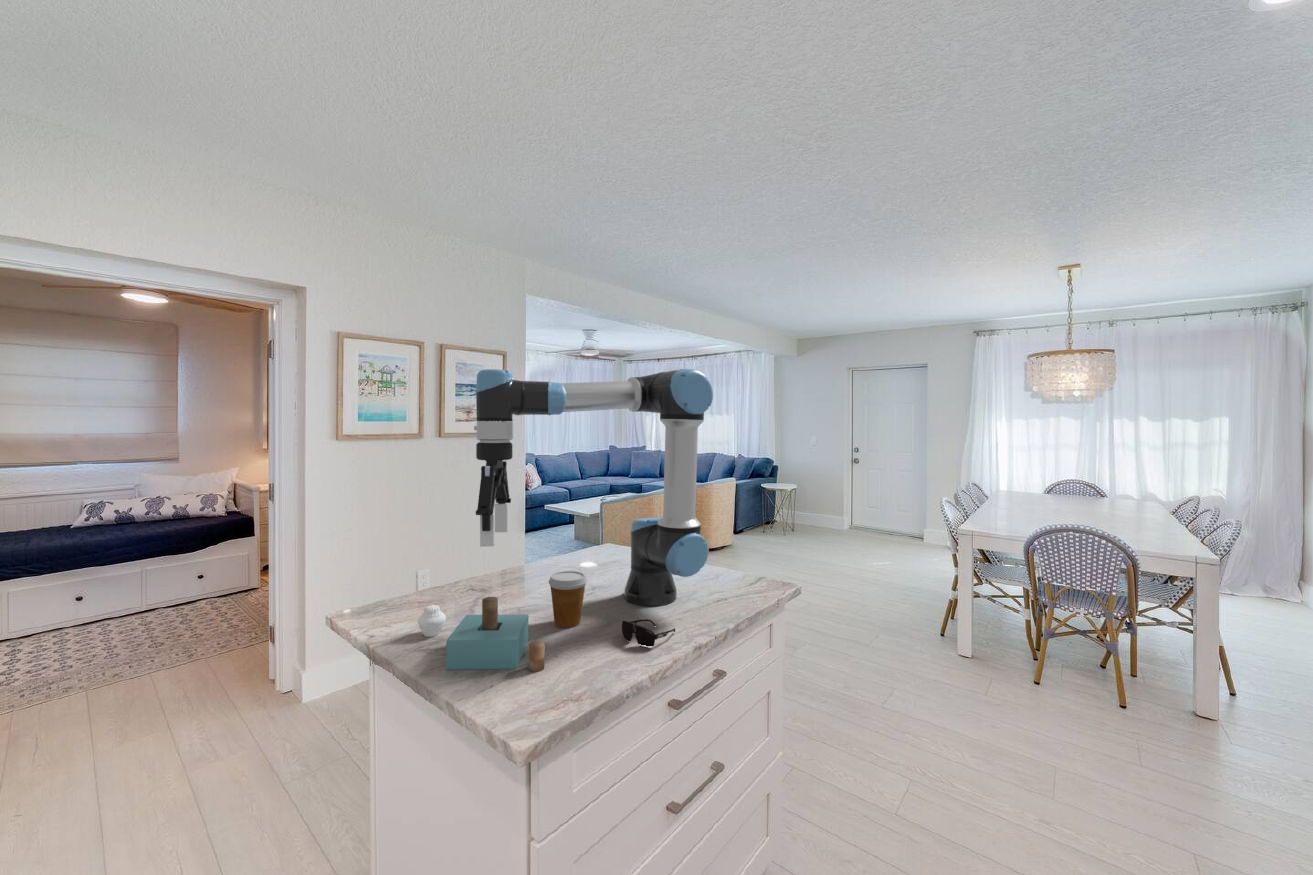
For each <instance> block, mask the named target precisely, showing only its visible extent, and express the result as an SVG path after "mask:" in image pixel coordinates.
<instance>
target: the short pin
mask: <svg viewBox="0 0 1313 875" xmlns="http://www.w3.org/2000/svg"><path fill="white" fill-rule="evenodd" d="M545 644H546V643H545V642H544V641H541V640H537V641H536V640H535V641H530V642H529V643H528V657H527V658H528V660H527V661H528V664H527V665H528V671H530V672H532V673H538V672H542V671H543V670H545V658H546V656H545V655H546V654H545V649H546V648H545Z"/></svg>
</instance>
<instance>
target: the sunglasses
mask: <svg viewBox="0 0 1313 875" xmlns="http://www.w3.org/2000/svg"><path fill="white" fill-rule="evenodd" d="M639 622H650V623H651V624H652V625H653V627H654V626H657V624H655V623H654V622H653V620H651V619H638V620H632V621H628V620H622V621H621V633H622V637H623V639H624V638H625V639H624V640H626V641H627V640H628V641H630V642H632V638H633V636H634V635H635V639H636V642H637V644H638V645H639V644H641V645H646V646H653V647H654V646H655V641H656V640H658V639H662V638H665V637H667V635H668V634H670V633H673V632H675V633H676V628H672V629H670V630H666V631H663V632H659V633H654V631H653V630H651V629H649V628H647V627H646V626H643V625H640V624H637V623H639Z"/></svg>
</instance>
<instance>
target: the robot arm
mask: <svg viewBox="0 0 1313 875" xmlns="http://www.w3.org/2000/svg"><path fill="white" fill-rule="evenodd" d="M475 383H476V384H475V395H476V396H475V398H476V399H475V400H476V401H475V402H476V403H475V404H476V425H474V426H473V430H474V431H476V440H477V441H479V442H477V443H476V446H475V448H476V451H475V454H476V455H475V456H476V458H475V459H477V460H479V461H485V465H482V466H481V468H480V471H481V472H480V484H479V492H478V493H479V494H478V500H477V509H476V510H475V515H476V516H479V537H480V538H479V547H495V533H507V532H508V504H511V502H512V498H510V493H509V492H510V491H509V482H508V473H507V464H508V463H507V461H509V460H511V459H513V443H512V442H511V440H513V439H514V432H513V431H514V428H513V427H514V426H513V425H514V424H513V423H514V420H513V419H514V418H513V415H515V416H525V415H526V416H529V415H530V416H531V415H532V416H535V415H536V416H542V415H543V416H544V415H547V416H554V415H561V414H563V413H571V412H574V413H576V412H588V411H589V412H590V411H606V410H607V411H608V410H609V411H610V410H623V409H624V410H626V409H628V411H630V412H632V413H633V412H634V413H636V412H644V413H645V412H646V413H653V414H654V413H656V414H659V420H660V422H661V423H662V424H663V425H664V427H665V434H664V435H665V438H664V439H665V440H664V442H665V443H664V469H663V470H664V472H663V474H664V475H663V507H662V508H663V510H662V511H663V512H662V513H663V514H662V516H659V517H658V516H657V517H654V516H653V517H644V518H643V517H641V518H637V519H634V520H633V521H632V523H631V529H630V534H631V535H630V571H629V574H628V578H627V581H626V583H625V587H624V595H623V596H624V599H625V600H626V602H629V603H631V604H635V605H638V606H646V607H647V606H650V607H651V606H653V607H654V606H664V605H669V604H671V603H674V602H675V601H676V599H677V593H678V592H677V587H676V583H675V581H674V576H678V577H681V578H688V577H691V576H694V575H696V574H697V573H699V572H700V571H701V569H702V568H703V567H704V566H705V564H706V563H707V561H708V556H709V553H710V552H709V551H710V549H709V544H708V541H707V540H706V539H705V537H704V535H703V536H702V535H701V530H702V529H701V528H702V524H701V522H700V521H699V520H698V518H697V517H696V504H697V498H696V496H697V473H698V471H697V468H698V467H697V466H698V465H697V464H698V433H699V431H698V430H699V429H698V428H699V427H700V426H701V424H703V422H704V421H705V412H707V411H708V410H709V407H711V406H712V403H713V399H714V391H713V390H714V389H713V386H712V384H711V382H710V380H709V378H708V377H707V376H706V374H704V373H703V372H702V371H699V370H698V369H694V368H693V369H692V368H680V369H676V370H669V371H662V372H657V373H654V374H653V373H652V374H649V375H644V376H635V377H634V376H631V377H629V378H627V379H626V380H621V381H620V380H619V381H592V382H591V381H590V382H589V381H588V382H554V381H553V382H552V381H550V380H549V381H539V380H537V381H535V380H534V381H532V380H518V379H514V377H513V372H512V371H510V370H506V369H493V368H492V369H490V368H489V369H482V370H479V371H478V372H477V374H476V382H475ZM673 575H674V576H673ZM674 600H675V601H674Z"/></svg>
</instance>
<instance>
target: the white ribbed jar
mask: <svg viewBox="0 0 1313 875" xmlns="http://www.w3.org/2000/svg"><path fill="white" fill-rule="evenodd" d="M446 619H447V616H446V614H445V613H443V612H442V610H441V608H440V606H438V605H437V604H431V605H428V606H426V607H424V609H423V612H422V614H421V615H420V616H419V617H418V618H417V625H418V627H419V629H420V631H421V632H422V634H423V636H424V637H426V638H427V637H428V638H433V637H436V636H438V635H439V634H440V632H441V631H442V629H443V627H444V626H445V622H446Z"/></svg>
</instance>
